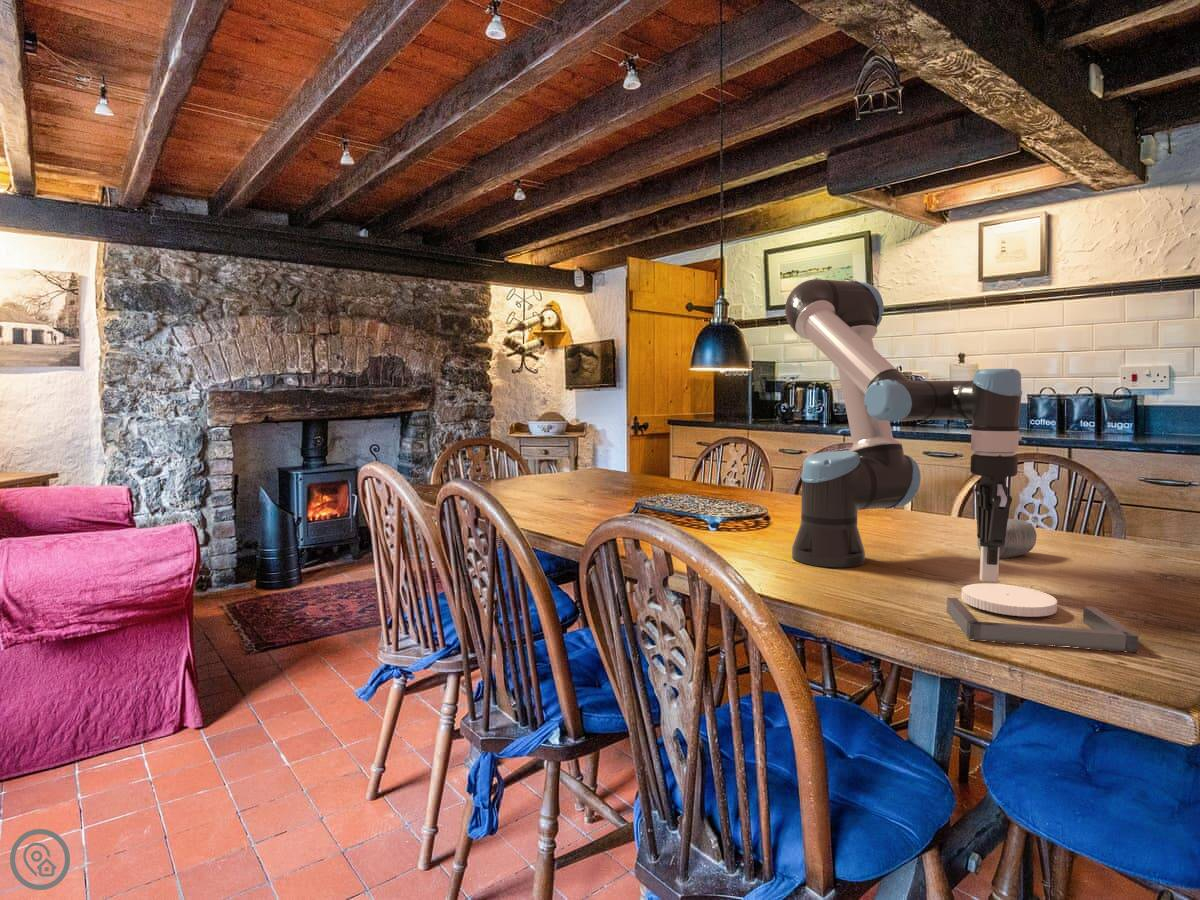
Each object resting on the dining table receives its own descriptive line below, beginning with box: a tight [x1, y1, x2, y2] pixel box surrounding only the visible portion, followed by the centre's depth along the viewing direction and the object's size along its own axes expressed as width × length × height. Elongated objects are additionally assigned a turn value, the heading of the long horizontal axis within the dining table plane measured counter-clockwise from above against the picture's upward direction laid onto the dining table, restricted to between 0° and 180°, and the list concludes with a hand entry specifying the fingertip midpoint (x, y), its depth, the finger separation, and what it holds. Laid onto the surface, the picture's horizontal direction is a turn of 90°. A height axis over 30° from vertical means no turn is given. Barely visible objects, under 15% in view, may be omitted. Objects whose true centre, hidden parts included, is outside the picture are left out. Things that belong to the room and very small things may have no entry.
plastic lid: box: [961, 582, 1058, 618], centre depth 118 cm, size 14×14×2 cm
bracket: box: [946, 597, 1139, 653], centre depth 106 cm, size 22×14×2 cm, turn 76°
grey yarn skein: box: [976, 518, 1038, 559], centre depth 155 cm, size 14×10×10 cm
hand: (988, 580), depth 129 cm, fingers closed
